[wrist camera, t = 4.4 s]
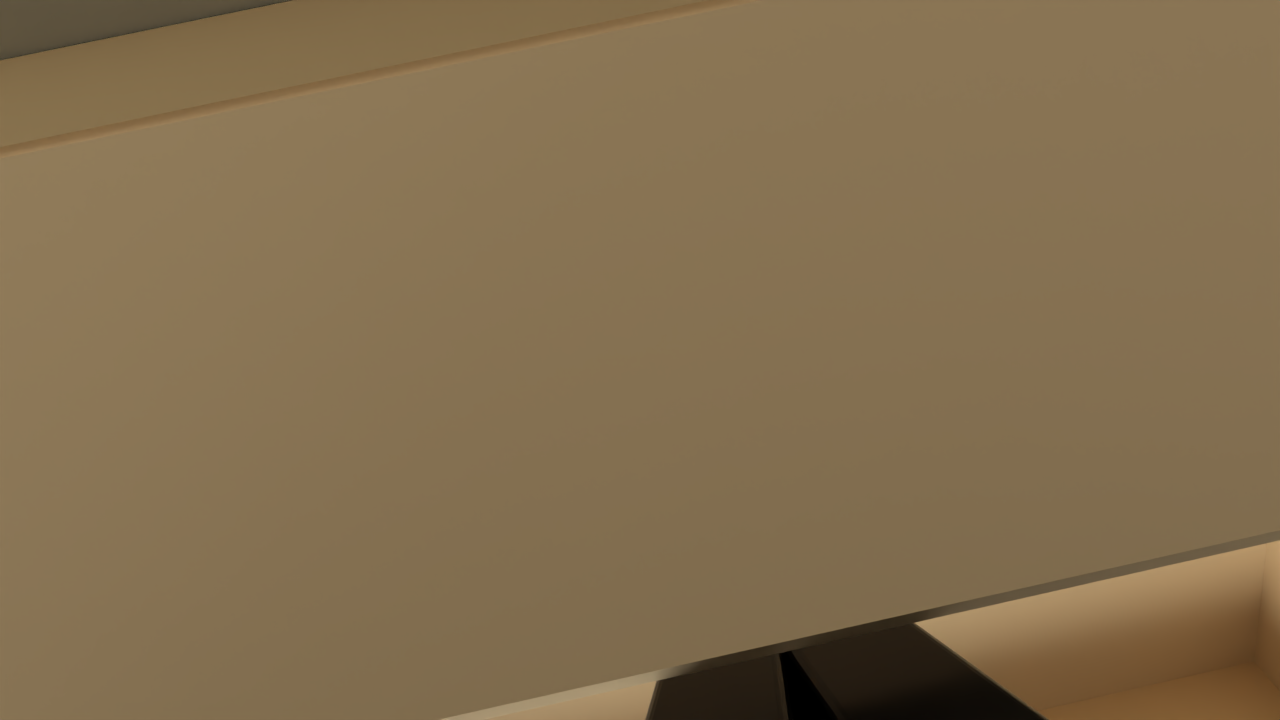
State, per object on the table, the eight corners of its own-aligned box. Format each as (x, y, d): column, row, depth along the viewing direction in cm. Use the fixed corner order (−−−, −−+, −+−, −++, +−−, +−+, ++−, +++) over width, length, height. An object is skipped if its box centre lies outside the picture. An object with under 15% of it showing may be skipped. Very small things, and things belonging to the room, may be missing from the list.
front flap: (1645, -184, 9) (2077, 351, 7) (1617, -150, 9) (2027, 371, 7) (-419, 245, 8) (-556, 943, 7) (-384, 265, 9) (-507, 942, 7)
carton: (1707, -290, 12) (2102, -290, 9) (1450, 809, 20) (1619, 996, 18) (-595, 182, 12) (-955, 344, 9) (87, 1128, 20) (20, 1379, 17)
